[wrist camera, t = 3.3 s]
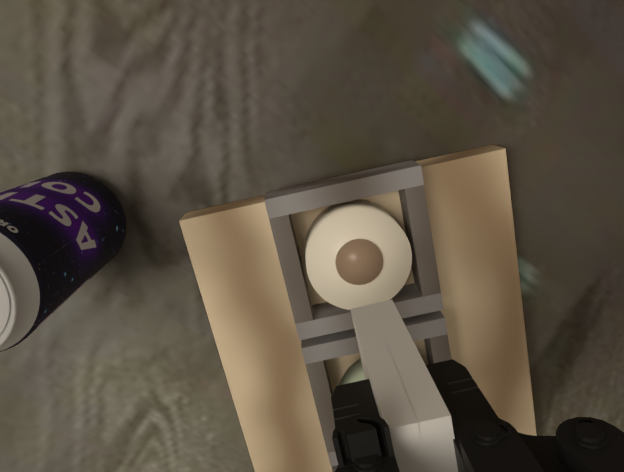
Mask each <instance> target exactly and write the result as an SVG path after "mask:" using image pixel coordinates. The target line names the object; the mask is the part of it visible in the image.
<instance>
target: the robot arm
mask: <svg viewBox="0 0 624 472" xmlns="http://www.w3.org/2000/svg"><path fill="white" fill-rule="evenodd" d="M350 310H351V315H352V319H353V324H354V329H355V333H356V338H357V343H358V347H359V352H360V357H361V361H362V366H363V371H364V375H365V379H366V380H361V381H357V382H352V383H348V384H343V385H338V386H336V388H335V390H334V392H333V394H332V396H331V402H332V408H333V415H334V422H335V429H334V431H333V435H332V441H333V445H334V449H335V453H336V457H337V461H338V467H337V469H336V470H335V472H624V432H622V431H621V430H619V429H618V428H616V427H615V426H613V425H611V424H609V423H607V422H605V421H603V420H599V419H595V418H591V417H577V418H573V419H568V420H566V421H564V422H563V423H561V424H560V425H559V426H558V429H557V431H556V436H534V435H526V434H522V433H518V432H517V430H516V429H515V428H514V427H513V426H512V425H511V424H510V423H509V422H506V421H504V420H502V419H500V418H498V416H497V415H496V413H495V412H494V410H493V408H492V407H491V405H490V404H489V402H488V401H487V399H486V398H485V396H484V395H483V393H482V392H481V390H480V388H478V385H477V384H476V382H475V381H474V379H473V378H472V376H471V375H470V373H469V371H468V370H467V368H466V367H465V366H463V365H462V364H460V363H458V362H457V361H455V360H453V359H451V360H447V361H442V362H438V363H433V364H428V365H425V363H424V361H423V359H422V357H421V355H420V353H419V351H418V349H417V347H416V346H415V344H414V342H413V340H412V338H411V336H410V334H409V332H408V330H407V328H406V326H405V324H404V322H403V320H402V318H401V316H400V314H399V312H398V310H397V308H396V306H395V304H394V302H393V300H388V301H383V302H379V303H374V304H370V305H365V306H361V307H356V308H352V309H350Z"/></svg>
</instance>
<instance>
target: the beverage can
mask: <svg viewBox="0 0 624 472" xmlns="http://www.w3.org/2000/svg"><path fill="white" fill-rule="evenodd" d="M125 233H126V220H125V215H124V212H123V209H122V206H121V204H120V202H119V201H118V199H117V198H116V196H115V195H114V194H113V192H112V191H111V190H110V189H109V188H108V187H107V186H105V185H104V184H103V183H101V182H100V181H98V180H97V179H95V178H93V177H90V176H88V175H85V174H81V173H76V172H61V173H56V174H52V175H50V176H47V177H44V178H41V179H38V180H35V181H33V182H30V183H27V184H24V185H21V186H18V187H16V188H13V189H10V190H7V191H4V192H1V193H0V352H1V351H4V350H7V349H9V348H12V347H14V346H15V345H17V344H19V343H20V342H22V341H23V340H24V339H25V338H27V337H28V336H29V335H30V334H31V333H32V332H33V331H34V330H35V329H36V328H37V327H38V326H40V325H41V324H42V323H43V322H44V321H45V320H46V319H47V318H48V317H49V316H50V315H51V314H52V313H54V312H55V311H56V310H57V309H58V308H59V307H60V306H61V305H62V304H63V303H64V302H65V301H66V300H68V299H69V298H70V297H71V296H72V295H73V294H74V293H75V292H76V291H77V290H78V289H79V288H80V287H82V286H83V285H84V284H85V283H86V282H87V281H88V280H89V279H90V278H91V277H92V276H93V275H95V274H96V273H97V272H98V271H99V270H100V269H101V268H102V267H103V266H104V265H105V264H106V263H107V262H109V261H110V260H111V259H112V258H113V257H114V256H115V255H116V254H117V252H118V251H119V249H120V248H121V246H122V244H123V241H124V238H125Z"/></svg>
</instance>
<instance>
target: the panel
mask: <svg viewBox="0 0 624 472" xmlns="http://www.w3.org/2000/svg"><path fill="white" fill-rule="evenodd" d="M357 199H358V200H366V201H370V202H372V203H375V204H377V205H379V206H381V207H382V208H384V209H385V210H386V211H388V212H389V213H390V214H391V215H392V217H393V218H394V219H395V221H396V222H397V223H398V225H399V226H400V227H401V228H402V230H403V231H404V233H405V234H406V236H407V238H408V240H409V243H410V247H411V251H412V265H411V270H410V273H409V276H408V278H407V281H406V283H405V284H404V286H403V287H402V289H401V290H400V291H399V292H398V293H397V294H396V295H395V296H394V297H393V298H392V299H390V300H393V302H394V304H395V306H396V308H397V310H398V312H399V314H400V316H401V318H402V320H403V322H404V324H405V326H406V328H407V330H408V332H409V334H410V336H411V338H412V340H413V342H414V344H415V346H416V347H417V349H418V351H419V353H420V355H421V357H422V359H423V361H424V363H425V365H428V364H433V363H438V362H442V361H447V360H451V359H453V360H455V361H457V362H458V363H460V364H462V365H463V366H465V367H466V368H467V370H468V371H469V373H470V375H471V376H472V378H473V379H474V381H475V382H476V384H477V385H478V388H480V390H481V392H482V393H483V395H484V396H485V398H486V399H487V401H488V402H489V404H490V405H491V407H492V408H493V410H494V412H495V413H496V415H497V416H498V418H500V419H502V420H504V421H506V422H509V423H510V424H511V425H512V426H513V427H514V428H515V429H516V430H517V432H518V433H522V434H526V435H534V436H537V434H536V425H535V416H534V407H533V398H532V388H531V379H530V370H529V361H528V351H527V342H526V333H525V324H524V315H523V305H522V296H521V287H520V278H519V268H518V259H517V250H516V241H515V232H514V222H513V213H512V204H511V195H510V185H509V176H508V167H507V158H506V149H505V148H502V147H498V146H495V145H488V146H483V147H479V148H474V149H470V150H465V151H461V152H456V153H452V154H447V155H443V156H438V157H434V158H429V159H425V160H420V161H416V162H415V161H413V160H409V161H405V162H400V163H396V164H391V165H387V166H382V167H378V168H373V169H369V170H364V171H360V172H355V173H351V174H346V175H342V176H337V177H333V178H328V179H324V180H319V181H315V182H310V183H306V184H301V185H297V186H292V187H288V188H283V189H279V190H274V191H270V192H266V195H262V196H258V197H253V198H249V199H244V200H240V201H235V202H231V203H226V204H222V205H217V206H213V207H208V208H204V209H199V210H195V211H190V212H186V213H185V215H184V216H183V217H182V218H181V219H180V220H179V223H180V226H181V229H182V232H183V236H184V239H185V242H186V246H187V249H188V252H189V256H190V259H191V262H192V266H193V269H194V272H195V275H196V279H197V282H198V285H199V289H200V292H201V295H202V299H203V302H204V305H205V308H206V312H207V315H208V318H209V322H210V325H211V328H212V332H213V335H214V338H215V341H216V345H217V348H218V351H219V355H220V358H221V361H222V365H223V368H224V371H225V374H226V378H227V381H228V384H229V388H230V391H231V394H232V398H233V401H234V404H235V407H236V411H237V414H238V417H239V421H240V424H241V427H242V431H243V434H244V437H245V441H246V444H247V447H248V450H249V454H250V457H251V460H252V464H253V467H254V470H255V472H335V470H336V469H337V467H338V461H337V457H336V453H335V449H334V445H333V441H332V435H333V431H334V429H335V422H334V415H333V408H332V402H331V396H332V394H333V392H334V390H335V388H336V386H338V385H339V384H340V381H341V379H342V377H343V375H344V373H345V372H346V371H347V369H348V368H349V367H350V366H351V365H352V364H353V363H355V362H356V361H357V360H359V359H360V358H361V357H360V352H359V347H358V343H357V338H356V333H355V329H354V324H353V319H352V315H351V310H347V309H342V308H339V307H337V306H334V305H332V304H330V303H329V302H327V301H326V300H324V299H323V298H322V297H321V296H320V295H319V294H318V293H317V292H316V291H315V289H314V288H313V286H312V284H311V282H310V280H309V277H308V274H307V269H306V259H305V240H306V236H307V233H308V230H309V228H310V226H311V224H312V222H313V221H314V220H315V218H316V217H317V216H318V215H319V214H320V213H321V212H322V211H323V210H325V209H326V208H328V207H329V206H331V205H334V204H339V203H343V202H348V201H352V200H357Z"/></svg>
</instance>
